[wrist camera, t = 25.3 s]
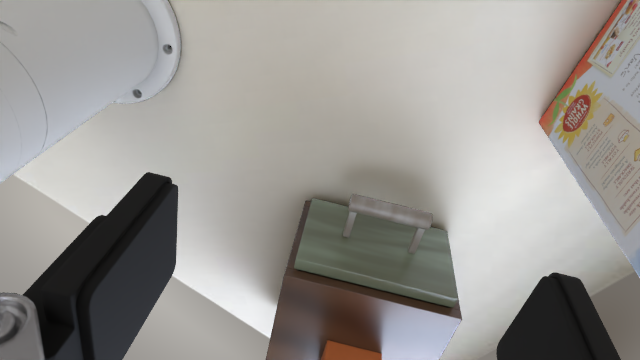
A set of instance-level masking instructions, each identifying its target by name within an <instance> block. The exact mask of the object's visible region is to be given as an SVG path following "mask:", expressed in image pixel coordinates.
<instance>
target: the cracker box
mask: <svg viewBox="0 0 640 360" xmlns="http://www.w3.org/2000/svg"><path fill="white" fill-rule="evenodd" d="M539 124H540V125H541V127H542V129H543V130H544V132H545V133H546V135H547V136H548V138H549V139H550V141H551V142H552V144H553V146H554V147H555V149H556V150H557V152H558V153H559V155H560V156H561V158H562V159H563V161H564V163H565V164H566V166H567V167H568V169H569V170H570V172H571V173H572V175H573V177H574V178H575V180H576V181H577V183H578V184H579V186H580V187H581V189H582V190H583V192H584V193H585V195H586V196H587V198H588V200H589V201H590V203H591V204H592V206H593V207H594V209H595V210H596V212H597V213H598V215H599V216H600V218H601V220H602V221H603V223H604V224H605V226H606V227H607V229H608V230H609V232H610V233H611V234H612V236H613V237H614V239H615V241H616V242H617V244H618V245H619V247H620V248H621V250H622V251H623V253H624V254H625V256H626V257H627V259H628V260H629V262H630V263H631V265H632V267H633V268H634V270H635V271H636V273H637V274H638V276H639V277H640V0H622V1H621V2H620V4H619V5H618V7H617V8H616V10H615V11H614V13H613V14H612V15H611V17H610V18H609V20H608V21H607V23H606V24H605V26H604V27H603V29H602V30H601V32H600V33H599V35H598V36H597V38H596V39H595V41H594V42H593V43H592V45H591V46H590V48H589V49H588V51H587V52H586V54H585V55H584V56H583V58H582V59H581V61H580V62H579V64H578V65H577V67H576V68H575V69H574V71H573V72H572V74H571V75H570V77H569V78H568V80H567V81H566V83H565V84H564V86H563V87H562V88H561V90H560V91H559V93H558V94H557V96H556V97H555V99H554V100H553V102H552V103H551V105H550V106H549V107H548V109H547V110H546V112H545V113H544V115H543V116H542V117H541V119H540V121H539Z"/></svg>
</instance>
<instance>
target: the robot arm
mask: <svg viewBox="0 0 640 360" xmlns="http://www.w3.org/2000/svg"><path fill="white" fill-rule="evenodd" d="M169 45H170V46H171V47H172V49H171V48H170V46H169ZM180 51H181V41H180V32H179V28H178V24H177V21H176V17H175V14H174V12H173V10H172V8H171V6H170V4H169V2H168V0H0V183H2V182H3V181H4V180H6V179H7V178H8V177H10V176H11V175H12V174H14V173H15V172H17V171H18V170H19V169H21V168H22V167H23V166H25V165H26V164H28V163H29V162H30V161H32V160H33V159H34V158H36V157H37V156H39V155H40V154H41V153H43V152H44V151H46V150H47V149H48V148H50V147H51V146H53V145H54V144H55V143H57V142H58V141H60V140H61V139H62V138H64V137H65V136H67V135H68V134H69V133H71V132H72V131H74V130H75V129H76V128H78V127H79V126H80V125H82V124H83V123H85V122H86V121H87V120H89V119H90V118H92V117H93V116H94V115H96V114H97V113H99V112H100V111H101V110H103V109H104V108H106V107H107V106H108V105H110V104H111V103H113V102H114V103H121V104H126V103H137V102H141V101H145V100H147V99H149V98H151V97H153V96H155V95H156V94H157V93H159V92H160V91H161V90H163V89H164V88H165V86H166V85H167V84H168V83H169V82H170V81H171V79H172V78H173V76H174V74H175V72H176V70H177V67H178V63H179V60H180ZM177 211H178V186H177V185H174V184H172V180H171V178H170V177H166V176H162V175H158V174H154V173H150V172H148V173H146V174H145V175H144V176H143V177H142V178H141V179H140V180H139V181H138V182H137V183H136V184H135V185H134V187H133V188H132V189H131V190H130V191H129V192H128V193H127V194H126V195H125V196H124V198H123V199H122V200H121V201H120V202H119V203H118V204H117V205H116V206H115V207H114V209H113V210H112V211H111V212H110V213H109V214H108V215H107V216H104V215H101V216H98V217H96V218H95V219H94V220H93V221H92V222H91V223H90V224H89V225H88V226H87V227H86V228H85V230H83V232H82V233H81V234H80V235H79V236H78V237H77V238H76V239H75V240H74V241H73V242H72V243H71V244H70V245H69V246H68V247H67V248H66V250H65V251H64V252H63V253H62V254H61V255H60V256H59V257H58V258H57V259H56V260H55V261H54V262H53V263H52V264H51V265H50V267H49V268H48V269H47V270H46V271H45V272H44V273H43V274H42V275H41V276H40V277H39V278H38V279H37V280H36V282H34V284H33V285H32V286H31V287H30V288H29V289H28V290H27V291H26V292H25V293H24V294H23V295H20V294H17V293H0V360H122V359H123V358H124V356H125V354H126V353H127V351H128V349H129V347H130V346H131V344H132V342H133V341H134V339H135V337H136V336H137V334H138V332H139V330H140V329H141V327H142V325H143V324H144V322H145V320H146V319H147V317H148V315H149V313H150V312H151V310H152V308H153V307H154V305H155V303H156V302H157V300H158V298H159V297H160V295H161V293H162V291H163V290H164V288H165V286H166V285H167V283H168V281H169V280H170V278H171V276H172V274H173V272H174V269H175V265H176V243H177ZM497 360H621V359H620V357H619V355H618V353H617V351H616V349H615V347H614V345H613V343H612V341H611V339H610V337H609V335H608V333H607V331H606V329H605V327H604V325H603V323H602V321H601V319H600V317H599V315H598V313H597V311H596V309H595V307H594V305H593V303H592V301H591V299H590V297H589V295H588V293H587V291H586V289H585V287H584V285H583V283H582V282H581V280H580V279H578V278H576V277H571V276H567V275H563V274H559V273H552V274H550V275H549V276H548V277H547V276H544V277H543V278H542V279H541V280H540V281H539V283H538V284H537V286H536V287H535V289H534V290H533V292H532V293H531V295H530V296H529V298H528V299H527V301H526V302H525V304H524V305H523V307H522V308H521V310H520V311H519V313H518V314H517V316H516V317H515V319H514V320H513V322H512V323H511V325H510V326H509V328H508V329H507V331H506V332H505V334H504V335H503V337H502V338H501V340H500V341H499V343H498V346H497Z"/></svg>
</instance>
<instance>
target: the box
mask: <svg viewBox="0 0 640 360" xmlns="http://www.w3.org/2000/svg"><path fill="white" fill-rule="evenodd" d="M321 360H382V354H381V353H377V352H373V351H369V350H365V349H361V348H357V347H353V346H349V345H345V344H341V343H337V342H333V341H329V340H328V341H327V343H326V346H325V349H324V352H323V355H322V358H321Z"/></svg>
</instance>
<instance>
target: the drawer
mask: <svg viewBox="0 0 640 360" xmlns="http://www.w3.org/2000/svg"><path fill="white" fill-rule="evenodd" d="M432 218H433V216H432V213H429V212H425V211H421V210H417V209H413V208H409V207H405V206H401V205H397V204H393V203H388V202H384V201H380V200H376V199H372V198H368V197H364V196H360V195H356V194H352V195H351V198H350V202H349V207H347V206H343V205H339V204H335V203H331V202H327V201H323V200H319V199H315V198H312V201H311V204H310V208H309V212H308V216H307V219H306V223H305V227H304V230H303V234H302V238H301V242H300V245H299V249H298V253H297V256H296V260H295V265H294V269H298V270H302V272H305V273H309V274H313V275H317V276H321V277H325V278H330V279H334V280H338V281H342V282H346V283H350V284H354V285H358V286H362V287H366V288H370V289H374V290H378V291H382V292H386V293H390V294H394V295H398V296H402V297H406V298H410V299H414V300H418V301H422V302H426V303H430V304H435V305H437V304H439V305H444V306H448V307H452V308H453V307H454V306H455V304H456V302H457V300H458V293H457V287H456V282H455V276H454V270H453V264H452V258H451V252H450V246H449V240H448V234H447V231H445V230H441V229H437V228H433V227H430V226H431V224H432Z"/></svg>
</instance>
